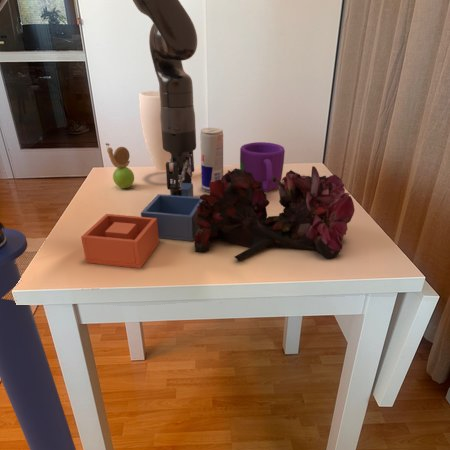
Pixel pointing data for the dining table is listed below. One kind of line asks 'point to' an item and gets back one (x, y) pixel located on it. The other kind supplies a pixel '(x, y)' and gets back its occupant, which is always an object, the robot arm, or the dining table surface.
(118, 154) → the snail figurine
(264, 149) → the mug
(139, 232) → the terracotta bin
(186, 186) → the blue block
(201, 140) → the beverage can
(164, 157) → the white vase
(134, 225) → the terracotta block
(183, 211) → the blue bin
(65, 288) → the dining table surface
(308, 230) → the flower arrangement
